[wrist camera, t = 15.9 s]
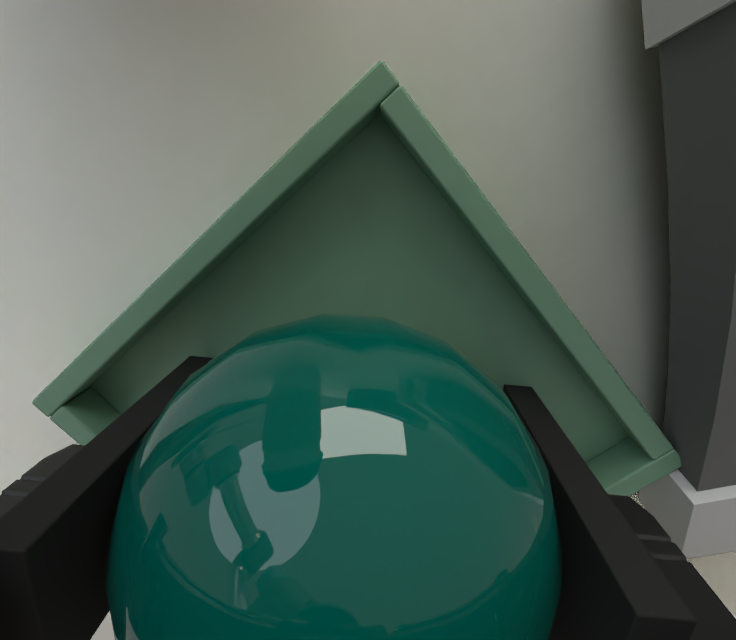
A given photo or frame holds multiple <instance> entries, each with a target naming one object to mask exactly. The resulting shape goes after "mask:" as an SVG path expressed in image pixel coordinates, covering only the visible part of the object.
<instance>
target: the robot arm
mask: <svg viewBox="0 0 736 640" xmlns="http://www.w3.org/2000/svg"><path fill="white" fill-rule="evenodd" d="M212 359H213V358H210V357H199V356H189V357H188V358H187V359H186V360H185V361H184V362H182V363H181V364H180V365H179V366H178V367H177V368H175V369H174V370H173V371H172V372H171V373H169V374H168V375H167V376H166V377H165V378H164V379H162V380H161V381H160V382H159V383H158V384H157V385H155V386H154V387H153V388H152V389H151V390H150V391H148V392H147V393H146V394H145V395H144V396H143V397H141V398H140V399H139V400H138V401H137V402H135V403H134V404H133V405H132V406H131V407H130V408H128V409H127V410H126V411H125V412H124V413H123V414H121V415H120V416H119V417H118V418H117V419H116V420H114V421H113V422H112V423H111V424H110V425H109V426H107V427H106V428H105V429H104V430H103V431H102V432H100V433H99V434H98V435H97V436H96V437H94V438H93V439H92V440H91V441H90V442H89V443H87V444H86V445H75V444H72V445H70V446H68V447H66V448H64V449H62V450H60V451H58V452H56V453H54V454H52V455H50V456H48V457H46V458H44V459H43V460H41V461H40V462H39V463H38V464H36V465H35V466H34V467H32V468H31V469H30V470H29V471H27V472H26V473H25V474H24V475H22V478H21V479H20V480H16V481H15V482H13V483H12V484H11V485H10V486H8V487H7V488H6V489H5V490H3V491H2V494H1V496H0V640H90V639H91V638H92V636H93V635H94V633H95V632H96V630H97V628H98V627H99V625H100V624H101V623H102V621H103V619H104V618H105V616H106V615H107V613H108V612H109V610H110V609H109V603H108V598H107V592H106V561H107V550H108V546H109V542H110V537H111V533H112V529H113V525H114V521H115V516H116V512H117V508H118V504H119V500H120V496H121V492H122V487H123V483H124V479H125V475H126V471H127V467H128V465H129V463H130V461H131V459H132V457H133V455H134V453H135V451H136V449H137V447H138V445H139V443H140V441H141V439H142V438H143V437H144V435H145V434H146V433H147V431H148V430H149V429H150V427H151V426H152V425H153V423H154V422H155V420H156V419H157V418H158V416H159V415H160V414H161V412H162V411H163V410H164V408H165V407H166V406H167V404H168V403H169V401H170V400H171V399H172V397H173V396H174V395H175V393H176V392H177V391H178V390H179V388H180V387H181V386H182V385H183V383H184V382H185V381H186V380H187V378H188V377H189V376H190V375H191V374H192V373H193V372H195V371H196V370H197V369H199V368H200V367H201V366H203V365H204V364H206V363H207V362H208V361H210V360H212ZM503 392H504V393H505V394H506V396H507V397H508V399H509V400H510V402H511V404H512V405H513V407H514V409H515V410H516V412H517V413H518V415H519V417H520V418H521V420H522V422H523V423H524V425H525V426H526V428H527V430H528V431H529V433H530V435H531V436H532V438H533V439H534V441H535V443H536V444H537V446H538V448H539V450H540V452H541V455H542V457H543V459H544V462H545V464H546V466H547V469H548V473H549V478H550V484H551V490H552V496H553V502H554V507H555V513H556V519H557V525H558V531H559V536H560V542H561V548H562V554H563V567H562V589H561V593H560V597H559V602H558V606H557V610H556V614H555V618H554V622H553V626H552V630H551V634H550V638H549V640H736V619H735V618H734V616H733V615H732V614H731V613H730V611H729V610H728V609H727V608H726V606H725V605H724V604H723V603H722V601H721V600H720V599H719V598H718V596H717V595H716V594H715V593H714V591H713V590H712V589H711V588H710V586H709V585H708V584H707V583H706V581H705V580H704V579H703V578H702V576H701V575H700V574H699V573H698V571H697V570H696V569H695V568H694V566H693V565H692V564H691V563H690V562H687V561H686V556H685V555H684V554H683V553H682V551H681V550H680V549H679V548H678V546H677V545H676V544H675V543H673V542H671V538H670V536H669V535H668V534H667V533H666V531H665V530H664V529H663V528H662V526H661V525H660V524H659V523H658V521H657V520H656V519H655V518H654V516H653V515H651V514H650V513H649V512H648V511H646V510H645V509H644V508H643V507H641V506H640V505H639V504H637V503H636V502H635V501H634V500H632V499H631V498H630V497H628V496H621V495H611V494H607V492H606V491H605V490H604V488H603V487H602V485H601V484H600V482H599V481H598V480H597V478H596V477H595V475H594V474H593V473H592V471H591V470H590V468H589V467H588V465H587V464H586V463H585V461H584V460H583V458H582V457H581V456H580V454H579V453H578V451H577V450H576V449H575V447H574V446H573V444H572V443H571V441H570V440H569V439H568V437H567V436H566V434H565V433H564V432H563V430H562V429H561V427H560V426H559V425H558V423H557V422H556V420H555V419H554V417H553V416H552V415H551V413H550V412H549V410H548V409H547V408H546V406H545V405H544V403H543V402H542V400H541V399H540V398H539V396H538V395H537V393H536V392H535V391H534V389H533V388H532V387H528V386H517V385H506V384H504V387H503Z"/></svg>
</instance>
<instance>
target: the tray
mask: <svg viewBox="0 0 736 640" xmlns="http://www.w3.org/2000/svg"><path fill="white" fill-rule="evenodd" d="M323 313H330V314H346V315H362V316H379V317H386V318H388V319H391V320H394V321H396V322H399V323H402V324H404V325H407V326H409V327H412V328H415V329H417V330H420V331H423V332H425V333H428V334H431V335H433V336H436V337H439V338H440V339H442V340H444V341H445V342H447V343H448V344H450V345H451V346H452V347H453V348H454V349H456V350H457V351H458V352H459V353H461V354H462V355H463V356H464V357H466V358H467V359H468V360H469V361H471V362H472V363H473V364H474V365H476V366H477V367H478V368H479V369H481V370H482V371H483V372H484V373H486V374H487V375H488V376H489V377H491V378H492V379H493V380H494V381H496V383H497V384H498V385H499V387H500V388H501V389H502V390H503V387H504V384H506V385H517V386H528V387H532V388H533V389H534V391H535V392H536V393H537V395H538V396H539V398H540V399H541V400H542V402H543V403H544V405H545V406H546V408H547V409H548V410H549V412H550V413H551V415H552V416H553V417H554V419H555V420H556V422H557V423H558V425H559V426H560V427H561V429H562V430H563V432H564V433H565V434H566V436H567V437H568V439H569V440H570V441H571V443H572V444H573V446H574V447H575V449H576V450H577V451H578V453H579V454H580V456H581V457H582V458H583V460H584V461H585V463H586V464H587V465H588V467H589V468H590V470H591V471H592V473H593V474H594V475H595V477H596V478H597V480H598V481H599V482H600V484H601V485H602V487H603V488H604V490H605V491H606V492H607V494H611V495H621V496H628V497H629V496H631V495H632V494H634V493H636V492H638V491H639V490H641V489H643V488H645V487H646V486H648V485H650V484H652V483H653V482H655V481H657V480H659V479H660V478H662V477H664V476H666V475H667V474H669V473H671V472H673V471H674V470H676V469H678V468H680V467H681V458H680V456H679V454H678V453H677V451H676V450H675V449H674V448H673V447H672V445H671V443H670V442H669V441H668V439H667V438H666V437H665V435H664V434H663V433H662V431H661V430H660V429H659V427H658V426H657V425H656V423H655V422H654V421H653V419H652V418H651V417H650V415H649V414H648V413H647V411H646V410H645V409H644V407H643V406H642V405H641V403H640V402H639V401H638V399H637V398H636V397H635V395H634V394H633V393H632V391H631V390H630V389H629V387H628V386H627V385H626V383H625V382H624V381H623V379H622V378H621V377H620V375H619V374H618V373H617V371H616V370H615V369H614V367H613V366H612V365H611V363H610V362H609V361H608V359H607V358H606V357H605V355H604V354H603V353H602V351H601V350H600V349H599V347H598V346H597V345H596V343H595V342H594V341H593V339H592V338H591V337H590V336H589V334H588V333H587V332H586V330H585V329H584V328H583V326H582V325H581V324H580V322H579V321H578V320H577V318H576V317H575V316H574V314H573V313H572V312H571V310H570V309H569V308H568V306H567V305H566V304H565V302H564V301H563V300H562V298H561V297H560V296H559V294H558V293H557V292H556V290H555V289H554V288H553V286H552V285H551V284H550V282H549V281H548V280H547V278H546V277H545V276H544V274H543V273H542V272H541V270H540V269H539V268H538V266H537V265H536V264H535V262H534V261H533V260H532V258H531V257H530V256H529V254H528V253H527V252H526V250H525V249H524V248H523V246H522V245H521V244H520V242H519V241H518V240H517V238H516V237H515V236H514V234H513V233H512V232H511V230H510V229H509V228H508V226H507V225H506V224H505V222H504V221H503V220H502V218H501V217H500V216H499V214H498V213H497V212H496V210H495V209H494V208H493V206H492V205H491V204H490V202H489V201H488V200H487V198H486V197H485V196H484V194H483V193H482V192H481V190H480V189H479V188H478V186H477V185H476V184H475V182H474V181H473V180H472V178H471V177H470V176H469V174H468V173H467V172H466V171H465V169H464V168H463V167H462V165H461V164H460V163H459V161H458V160H457V159H456V157H455V156H454V155H453V153H452V152H451V151H450V149H449V148H448V147H447V145H446V144H445V143H444V141H443V140H442V139H441V137H440V136H439V135H438V133H437V132H436V131H435V129H434V128H433V127H432V125H431V124H430V123H429V121H428V120H427V119H426V117H425V116H424V115H423V113H422V112H421V111H420V109H419V108H418V107H417V105H416V104H415V103H414V101H413V100H412V99H411V97H410V96H409V95H408V93H407V92H406V91H405V89H404V88H403V87H402V86H399V82H398V80H397V79H396V77H395V76H394V75H393V73H392V72H391V71H390V69H389V68H388V67H387V65H386V64H385V63H384V62H383V61H379V62H378V63H377V64H376V65H375V66H374V67H373V68H372V69H371V70H370V71H369V72H368V73H367V74H366V75H365V76H364V77H363V78H362V79H361V80H360V81H359V82H358V83H357V84H356V85H355V86H354V87H353V88H352V89H351V90H349V91H348V92H347V93H346V94H345V95H344V96H343V97H342V98H341V99H340V100H339V101H338V102H337V103H336V104H335V105H334V106H333V107H332V108H331V109H330V110H329V111H328V112H327V113H326V114H325V115H324V116H323V117H322V118H321V119H320V120H319V121H318V122H317V123H316V124H315V125H314V126H313V127H312V128H311V129H310V130H309V131H308V132H307V133H306V134H305V135H304V136H303V137H302V138H301V139H299V140H298V141H297V142H296V143H295V144H294V145H293V146H292V147H291V148H290V149H289V150H288V151H287V152H286V153H285V154H284V155H283V156H282V157H281V158H280V159H279V160H278V161H277V162H276V163H275V164H274V165H273V166H272V167H271V168H270V169H269V170H268V171H267V172H266V173H265V174H264V175H263V176H262V177H261V178H260V179H259V180H258V181H257V182H256V183H255V184H254V185H253V186H252V187H250V188H249V189H248V190H247V191H246V192H245V193H244V194H243V195H242V196H241V197H240V198H239V199H238V200H237V201H236V202H235V203H234V204H233V205H232V206H231V207H230V208H229V209H228V210H227V211H226V212H225V213H224V214H223V215H222V216H221V217H220V218H219V219H218V220H217V221H216V222H215V223H214V224H213V225H212V226H211V227H210V228H209V229H208V230H207V231H206V232H205V233H204V234H203V235H202V236H200V237H199V238H198V239H197V240H196V241H195V242H194V243H193V244H192V245H191V246H190V247H189V248H188V249H187V250H186V251H185V252H184V253H183V254H182V255H181V256H180V257H179V258H178V259H177V260H176V261H175V262H174V263H173V264H172V265H171V266H170V267H169V268H168V269H167V270H166V271H165V272H164V273H163V274H162V275H161V276H160V277H159V278H158V279H157V280H156V281H155V282H154V283H153V284H151V285H150V286H149V287H148V288H147V289H146V290H145V291H144V292H143V293H142V294H141V295H140V296H139V297H138V298H137V299H136V300H135V301H134V302H133V303H132V304H131V305H130V306H129V307H128V308H127V309H126V310H125V311H124V312H123V313H122V314H121V315H120V316H119V317H118V318H117V319H116V320H115V321H114V322H113V323H112V324H111V325H110V326H109V327H108V328H107V329H106V330H105V331H104V332H103V333H101V334H100V335H99V336H98V337H97V338H96V339H95V340H94V341H93V342H92V343H91V344H90V345H89V346H88V347H87V348H86V349H85V350H84V351H83V352H82V353H81V354H80V355H79V356H78V357H77V358H76V359H75V360H74V361H73V362H72V363H71V364H70V365H69V366H68V367H67V368H66V369H65V370H64V371H63V372H62V373H61V374H60V375H59V376H58V377H57V378H56V379H55V380H54V381H52V382H51V383H50V384H49V385H48V386H47V387H46V388H45V389H44V390H43V391H42V392H41V393H40V394H39V395H38V396H37V397H36V398H35V399H34V400H33V402H32V403H33V405H35V406H36V407H37V408H38V409H39V410H40V411H42V412H43V413H44V414H45V415H46V416H51V417H50V419H51V420H52V421H53V422H54V423H56V424H57V425H58V426H59V427H60V428H61V429H62V430H64V431H65V432H66V433H67V434H68V435H69V436H71V437H72V438H73V439H74V440H75V441H76V442H78V443H79V444H80V445H86V444H87V443H89V442H90V441H91V440H92V439H93V438H94V437H96V436H97V435H98V434H99V433H100V432H102V431H103V430H104V429H105V428H106V427H107V426H109V425H110V424H111V423H112V422H113V421H114V420H116V419H117V418H118V417H119V416H120V415H121V414H123V413H124V412H125V411H126V410H127V409H128V408H130V407H131V406H132V405H133V404H134V403H135V402H137V401H138V400H139V399H140V398H141V397H143V396H144V395H145V394H146V393H147V392H148V391H150V390H151V389H152V388H153V387H154V386H155V385H157V384H158V383H159V382H160V381H161V380H162V379H164V378H165V377H166V376H167V375H168V374H169V373H171V372H172V371H173V370H174V369H175V368H177V367H178V366H179V365H180V364H181V363H182V362H184V361H185V360H186V359H187V358H188V357H189V356H199V357H210V358H215V357H216V356H218V355H219V354H221V353H222V352H224V351H226V350H227V349H229V348H230V347H232V346H233V345H235V344H236V343H238V342H240V341H241V340H243V339H244V338H246V337H247V336H249V335H250V334H252V333H254V332H255V331H257V330H260V329H264V328H267V327H271V326H275V325H279V324H283V323H287V322H291V321H295V320H299V319H303V318H307V317H311V316H315V315H319V314H323Z"/></svg>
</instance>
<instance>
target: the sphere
mask: <svg viewBox="0 0 736 640" xmlns="http://www.w3.org/2000/svg"><path fill="white" fill-rule="evenodd" d="M562 567H563V554H562V548H561V542H560V536H559V531H558V525H557V519H556V513H555V507H554V502H553V496H552V490H551V484H550V478H549V473H548V469H547V466H546V464H545V462H544V459H543V457H542V455H541V452H540V450H539V448H538V446H537V444H536V443H535V441H534V439H533V438H532V436H531V435H530V433H529V431H528V430H527V428H526V426H525V425H524V423H523V422H522V420H521V418H520V417H519V415H518V413H517V412H516V410H515V409H514V407H513V405H512V404H511V402H510V400H509V399H508V397H507V396H506V394H505V393H504V392H503V390H502V389H501V388H500V387H499V385H498V384H497V383H496V381H494V380H493V379H492V378H491V377H489V376H488V375H487V374H486V373H484V372H483V371H482V370H481V369H479V368H478V367H477V366H476V365H474V364H473V363H472V362H471V361H469V360H468V359H467V358H466V357H464V356H463V355H462V354H461V353H459V352H458V351H457V350H456V349H454V348H453V347H452V346H451V345H450V344H448V343H447V342H445V341H444V340H442V339H440V338H439V337H436V336H433V335H431V334H428V333H425V332H423V331H420V330H417V329H415V328H412V327H409V326H407V325H404V324H402V323H399V322H396V321H394V320H391V319H388V318H386V317H379V316H362V315H346V314H330V313H323V314H319V315H315V316H311V317H307V318H303V319H299V320H295V321H291V322H287V323H283V324H279V325H275V326H271V327H267V328H264V329H260V330H257V331H255V332H254V333H252V334H250V335H249V336H247V337H246V338H244V339H243V340H241V341H240V342H238V343H236V344H235V345H233V346H232V347H230V348H229V349H227V350H226V351H224V352H222V353H221V354H219V355H218V356H216V357H215V358H213V359H212V360H210V361H208V362H207V363H206V364H204V365H203V366H201V367H200V368H199V369H197V370H196V371H195V372H193V373H192V374H191V375H190V376H189V377H188V378H187V380H186V381H185V382H184V383H183V385H182V386H181V387H180V388H179V390H178V391H177V392H176V393H175V395H174V396H173V397H172V399H171V400H170V401H169V403H168V404H167V406H166V407H165V408H164V410H163V411H162V412H161V414H160V415H159V416H158V418H157V419H156V420H155V422H154V423H153V425H152V426H151V427H150V429H149V430H148V431H147V433H146V434H145V435H144V437H143V438H142V439H141V441H140V443H139V445H138V447H137V449H136V451H135V453H134V455H133V457H132V459H131V461H130V463H129V465H128V467H127V471H126V475H125V479H124V483H123V487H122V492H121V496H120V500H119V504H118V508H117V512H116V516H115V521H114V525H113V529H112V533H111V537H110V542H109V546H108V550H107V561H106V592H107V598H108V603H109V609H110V614H111V620H112V625H113V631H114V636H115V640H549V638H550V634H551V630H552V626H553V622H554V618H555V614H556V610H557V606H558V602H559V597H560V593H561V589H562Z"/></svg>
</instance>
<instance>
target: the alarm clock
mask: <svg viewBox="0 0 736 640" xmlns="http://www.w3.org/2000/svg"><path fill="white" fill-rule="evenodd" d="M641 1H642V14H643V27H644V41H645V50H646V49H650V48H653V47H657V46H659V58H660V73H661V88H662V103H663V118H664V133H665V148H666V163H667V178H668V207H669V243H670V279H671V301H670V331H669V361H668V384H667V394H666V404H665V414H664V424H663V434H664V435H665V437H666V438H667V439H668V441H669V442H670V443H671V445H672V447H673V448H674V449H675V450H676V451H677V453H678V454H679V456H680V458H681V467H680V468H678V469H676V470H674V471H673V472H671V473H669V474H667V475H666V476H664V477H662V478H660V479H659V480H657V481H655V482H653V483H652V484H650V485H648V486H646V487H645V488H643V489H641V490H639V500H640V502H641V503H642V504H643V506H644V507H645V509H646V510H647V511H648V512H649V513H650V514H651V515H653V516H654V518H655V519H656V520H657V521H658V523H659V524H660V525H661V526H662V528H663V529H664V530H665V531H666V533H667V534H668V535H669V536H670V538H671V542H673V543H675V544H676V545H677V546H678V548H679V549H680V550H681V551H682V553H683V554H684V555H685V556H686V559H690V558H697V557H703V556H709V555H715V554H721V553H727V552H734V551H736V0H641Z"/></svg>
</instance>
